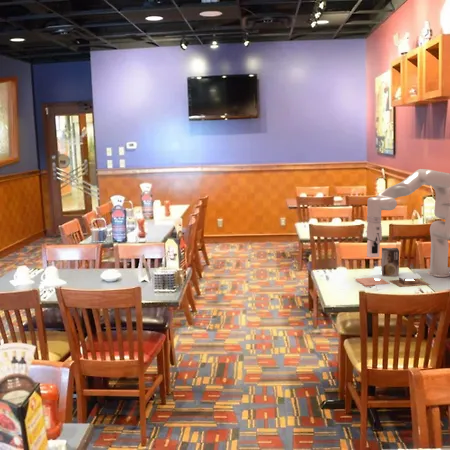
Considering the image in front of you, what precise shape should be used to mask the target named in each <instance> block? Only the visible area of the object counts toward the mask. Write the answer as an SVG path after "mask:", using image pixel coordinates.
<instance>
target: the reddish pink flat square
mask: <svg viewBox="0 0 450 450" xmlns="http://www.w3.org/2000/svg"><path fill="white" fill-rule="evenodd" d="M354 280H355V281H356V282H357V283H359V284H360V285H362V286H364V287H365V288H369V287H376V286H377V285H389V284H390V283H391V282H389V281H386V280H385V279H383V278H381V280H380V281H375V280H374V278H373V276H372V277H362V278H361V277H360V278H359V277H358V278H355V279H354Z"/></svg>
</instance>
